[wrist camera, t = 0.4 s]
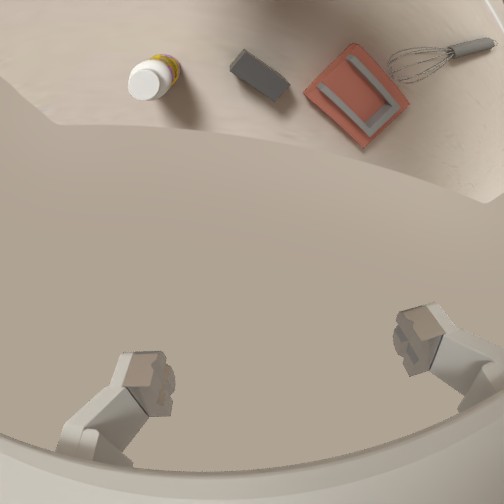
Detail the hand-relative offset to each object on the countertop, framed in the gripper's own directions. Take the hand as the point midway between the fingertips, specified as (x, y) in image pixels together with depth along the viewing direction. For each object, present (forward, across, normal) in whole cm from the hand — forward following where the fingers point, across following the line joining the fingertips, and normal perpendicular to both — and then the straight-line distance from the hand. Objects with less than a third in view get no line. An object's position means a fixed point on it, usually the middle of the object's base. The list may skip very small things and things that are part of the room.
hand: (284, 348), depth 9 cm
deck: (+48, -23, -8) cm, 54 cm away
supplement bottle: (+46, +12, -18) cm, 51 cm away
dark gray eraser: (+47, -4, -14) cm, 49 cm away
